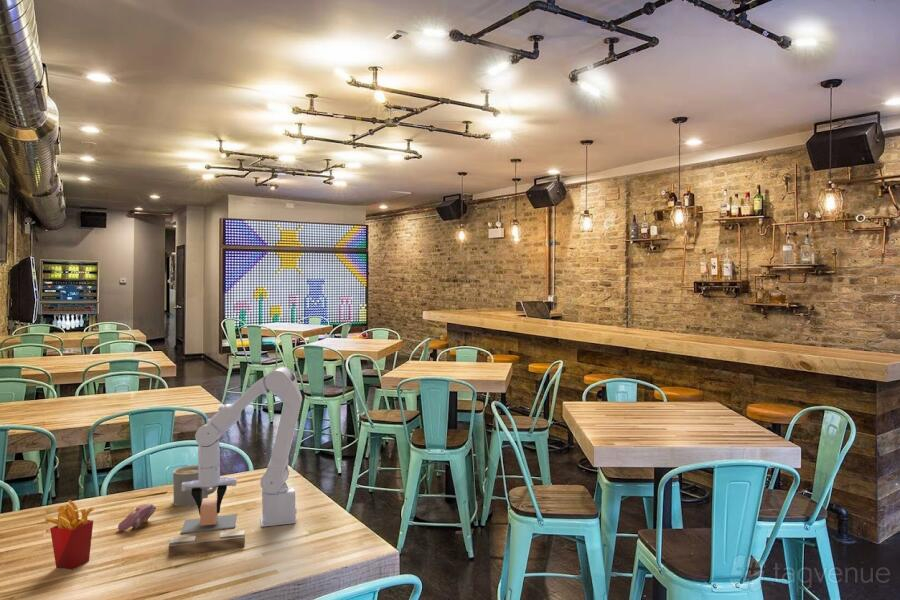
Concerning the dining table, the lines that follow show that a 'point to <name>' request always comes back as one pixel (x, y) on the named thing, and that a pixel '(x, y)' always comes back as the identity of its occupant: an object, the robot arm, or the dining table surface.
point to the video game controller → (137, 517)
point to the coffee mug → (185, 476)
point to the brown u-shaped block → (206, 543)
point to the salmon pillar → (208, 511)
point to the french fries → (71, 536)
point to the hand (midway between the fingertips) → (209, 512)
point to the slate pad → (221, 524)
